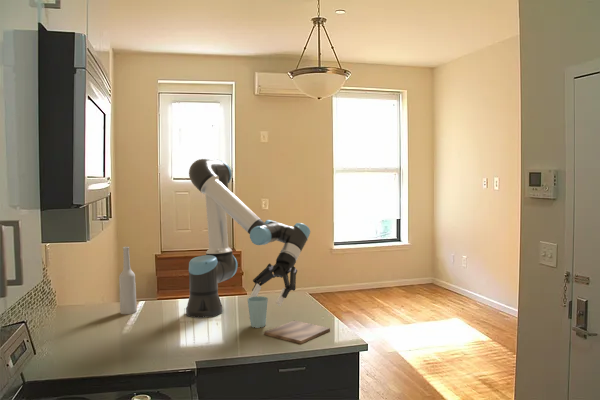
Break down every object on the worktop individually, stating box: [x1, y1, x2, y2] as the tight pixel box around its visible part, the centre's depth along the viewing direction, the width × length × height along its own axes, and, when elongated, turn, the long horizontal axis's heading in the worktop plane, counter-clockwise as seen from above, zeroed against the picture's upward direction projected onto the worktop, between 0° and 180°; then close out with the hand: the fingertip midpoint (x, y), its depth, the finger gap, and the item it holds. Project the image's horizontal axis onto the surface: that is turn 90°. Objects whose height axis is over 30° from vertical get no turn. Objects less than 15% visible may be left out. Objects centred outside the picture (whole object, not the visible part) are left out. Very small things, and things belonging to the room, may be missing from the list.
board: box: [263, 320, 331, 345], centre depth 179 cm, size 17×17×1 cm
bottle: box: [118, 246, 138, 315], centre depth 210 cm, size 7×7×28 cm
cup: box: [247, 295, 269, 329], centre depth 188 cm, size 8×8×10 cm
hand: (264, 301), depth 188 cm, fingers open, 13 cm apart
